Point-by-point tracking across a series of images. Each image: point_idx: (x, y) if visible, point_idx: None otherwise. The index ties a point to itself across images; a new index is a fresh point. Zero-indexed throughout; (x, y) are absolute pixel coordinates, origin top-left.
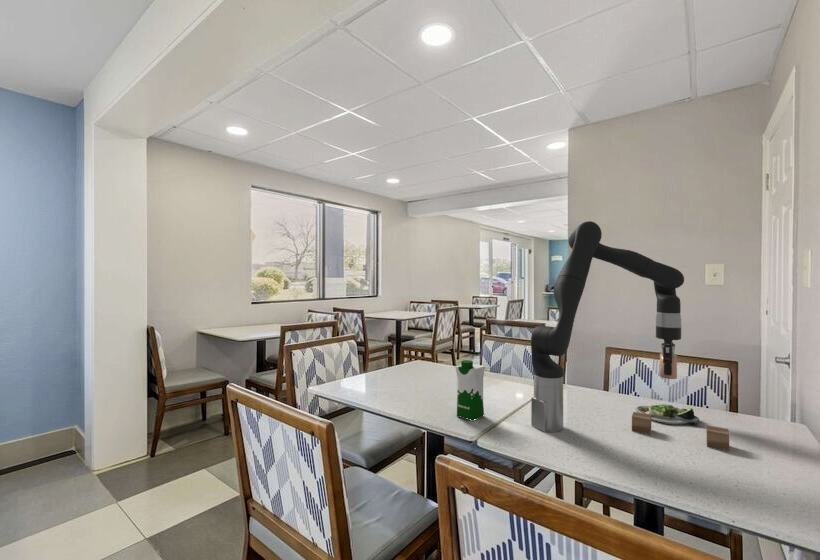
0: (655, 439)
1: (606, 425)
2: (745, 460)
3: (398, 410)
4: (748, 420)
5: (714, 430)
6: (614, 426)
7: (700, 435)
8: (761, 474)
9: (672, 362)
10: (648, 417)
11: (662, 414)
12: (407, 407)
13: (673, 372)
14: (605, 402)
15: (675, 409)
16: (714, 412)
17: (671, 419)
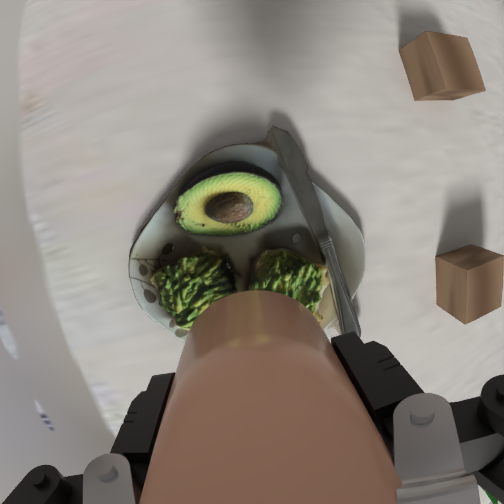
0: (489, 222)
1: (463, 350)
2: (455, 30)
3: None
4: (64, 53)
5: (471, 70)
6: (461, 335)
7: (379, 118)
8: (487, 22)
9: (433, 413)
10: (493, 266)
11: (327, 267)
12: (481, 499)
13: (319, 336)
14: None
15: (148, 261)
16: (46, 152)
17: (330, 228)
